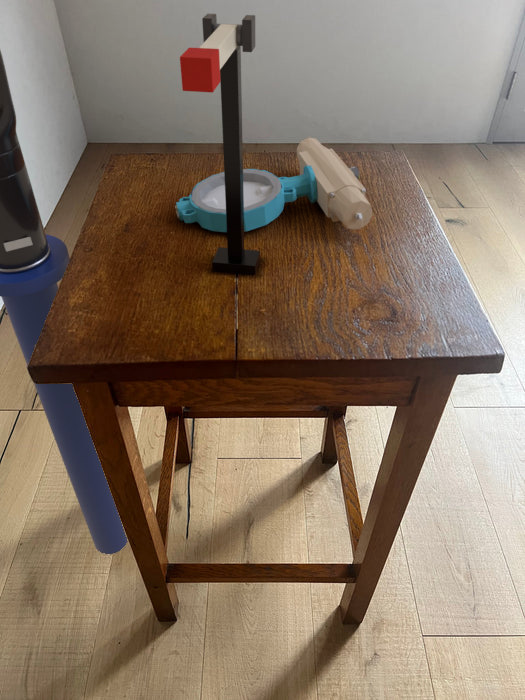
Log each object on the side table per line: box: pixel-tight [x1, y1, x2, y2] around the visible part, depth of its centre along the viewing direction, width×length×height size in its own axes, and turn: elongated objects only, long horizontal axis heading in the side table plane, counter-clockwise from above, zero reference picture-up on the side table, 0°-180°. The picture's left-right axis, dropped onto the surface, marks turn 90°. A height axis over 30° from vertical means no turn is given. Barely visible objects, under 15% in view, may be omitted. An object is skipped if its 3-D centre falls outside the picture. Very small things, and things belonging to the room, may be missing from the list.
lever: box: [179, 23, 243, 93], centre depth 55 cm, size 3×16×3 cm, turn 171°
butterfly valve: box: [174, 137, 374, 233], centre depth 90 cm, size 27×7×30 cm
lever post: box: [201, 13, 261, 276], centre depth 69 cm, size 6×4×31 cm, turn 81°
